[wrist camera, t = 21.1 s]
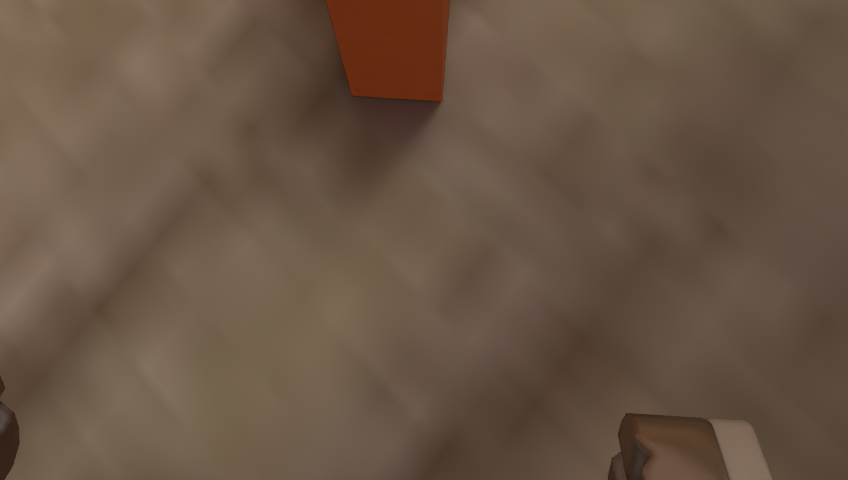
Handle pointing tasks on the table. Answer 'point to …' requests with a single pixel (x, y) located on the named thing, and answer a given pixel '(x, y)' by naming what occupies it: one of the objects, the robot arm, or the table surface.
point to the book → (392, 46)
